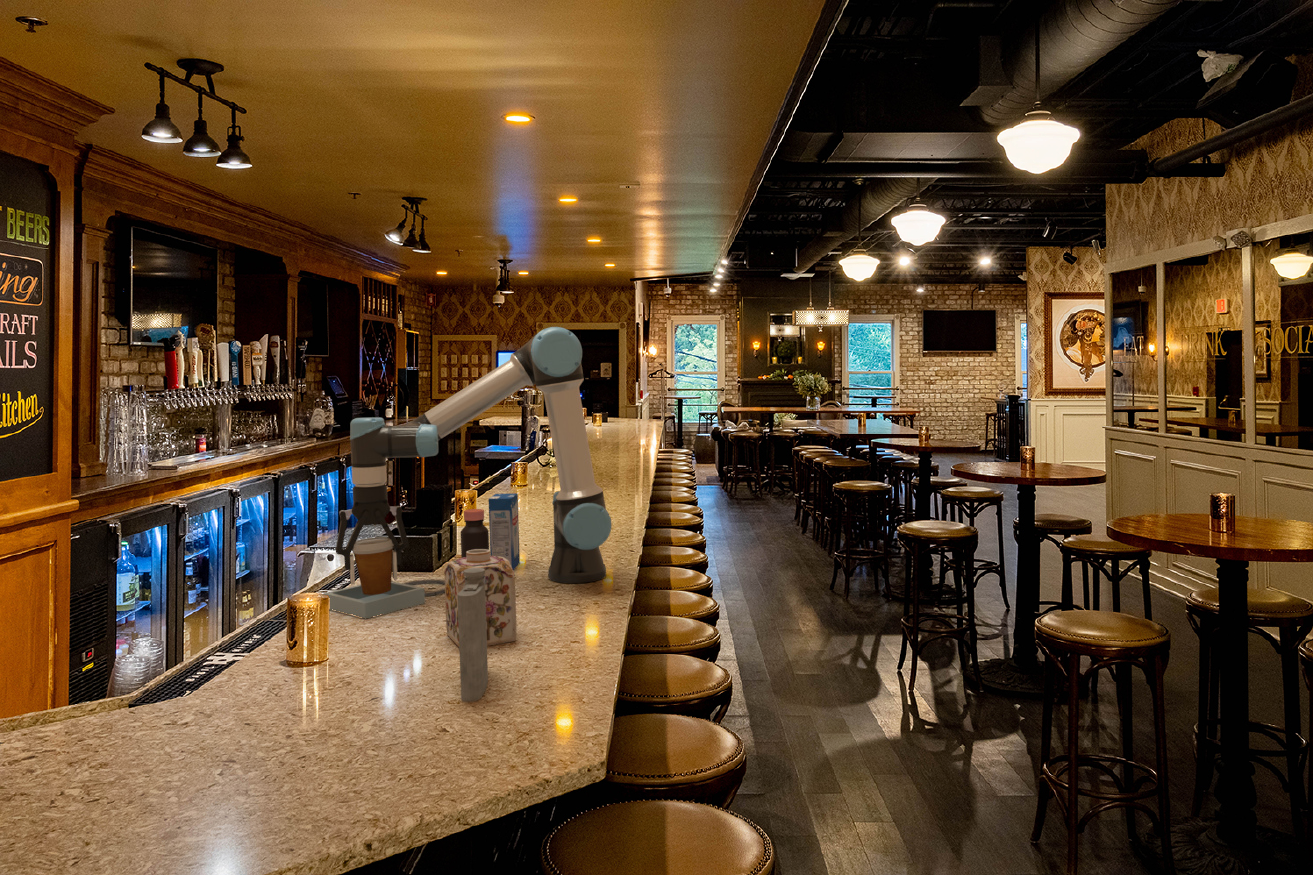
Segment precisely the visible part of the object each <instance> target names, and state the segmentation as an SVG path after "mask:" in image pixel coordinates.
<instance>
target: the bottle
mask: <svg viewBox="0 0 1313 875" xmlns="http://www.w3.org/2000/svg"><path fill="white" fill-rule="evenodd" d="M463 521H464V522H465V525H464V527H462V529H461V531H460V551H461V552H460V553H461V554H460V555H461V557H460V558H463V557H466V552H467V551H469V550H475V549H487V550H489V551H490V530H489V529H488V527H486V526H485V524H484V521H485V510H484V509H483V508H473V509H472V508H471V509H465V510H463Z"/></svg>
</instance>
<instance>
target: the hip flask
mask: <svg viewBox="0 0 1313 875" xmlns="http://www.w3.org/2000/svg"><path fill="white" fill-rule="evenodd" d="M483 575H485V569H483V568H470V569H466V570H464V576H465V586H464V588H463V589H462V590H461V591H460V592H459V593H458V594H457V597H458V624H459V647H458V649H459V676H460V677H459V678H460V697H461V698H460V699H461V700H460V701H463V702H465V703H470V702H471V703H472V702H476V701H479V700H481V698H482V696H483V695H484V694H485V692H486V690H487V687H488V683H489V667H488V666H489V663H488V646H487V632H486V602H485V578H484V576H483Z"/></svg>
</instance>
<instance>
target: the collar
mask: <svg viewBox="0 0 1313 875" xmlns="http://www.w3.org/2000/svg"><path fill="white" fill-rule="evenodd" d="M402 583H403V584H407V585H412V586H416V585H425V584H438V585H444V586H445V579H435V578H434V579H430V578H429V579H418V580H410V581H405V582H402ZM424 593H425V597H433V596H434V597H435V596H438V595H442V594H445V587H444V588H442V589H436V590H433V591H426V592H425V591H424Z"/></svg>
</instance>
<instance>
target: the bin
mask: <svg viewBox="0 0 1313 875" xmlns="http://www.w3.org/2000/svg"><path fill="white" fill-rule="evenodd" d="M403 583H404V582H396V581H394V580H393V581H392V580H391V590H390V591H388V592H386V593H382V594H377V595H365V594H363V591H362V587H361V584H359V585H358V584H357V585H353V586H350V587H345V588H344V587H343V588H341V589H336V590H332V591H327V592H324V593H323V596H324V595H328V596H329V598H330V610H329V611H331V612H333V611H332V609H333V610H336V611H340V612H344V613H347V614H353V615H356V616H359V617H362V618H365V619H364V620H367V619H366V618H369V619H371V618H370V617H373V616H376V617H378V616H377V615H380V614H384V615H388V614H390V612H391V613H394V612H398V611H401V610H400V609H402V610H404V609H403V608H405V609H408V608H407V607H409V608H412V607H413V608H414V607H417V606H420V605H422V604H423V605H424V604H425V603H426V602H425V601H426V598H425V597H426V596H425V593H424V592H425V588H424V587H422V586H421V587H420V586H416V585H407V584H403ZM397 610H398V611H397ZM393 611H394V612H393ZM380 616H381V615H380ZM362 618H361V619H362ZM373 618H374V617H373Z"/></svg>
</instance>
